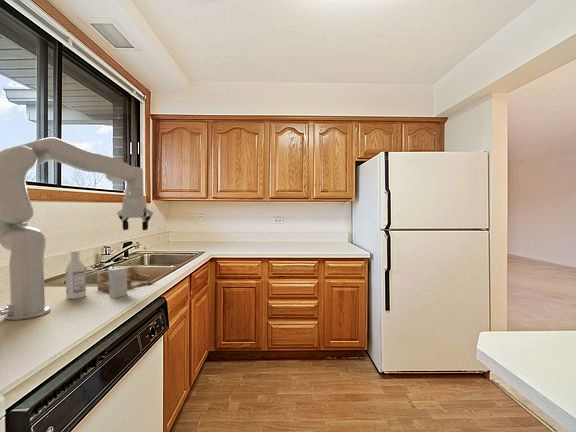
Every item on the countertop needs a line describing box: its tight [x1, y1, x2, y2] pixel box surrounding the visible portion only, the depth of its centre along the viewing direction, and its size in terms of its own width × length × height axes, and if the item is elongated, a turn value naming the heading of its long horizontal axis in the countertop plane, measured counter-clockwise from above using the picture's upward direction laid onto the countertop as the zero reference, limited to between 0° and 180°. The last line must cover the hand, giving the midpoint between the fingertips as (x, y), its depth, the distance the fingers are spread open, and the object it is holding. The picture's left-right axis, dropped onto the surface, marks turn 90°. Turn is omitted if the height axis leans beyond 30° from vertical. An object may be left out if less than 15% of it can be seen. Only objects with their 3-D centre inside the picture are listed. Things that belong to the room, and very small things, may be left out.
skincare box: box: [108, 266, 128, 299], centre depth 137 cm, size 6×4×12 cm
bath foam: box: [65, 250, 87, 300], centre depth 135 cm, size 7×7×20 cm
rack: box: [96, 265, 152, 294], centre depth 153 cm, size 20×11×8 cm, turn 150°
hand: (135, 229), depth 149 cm, fingers open, 9 cm apart
